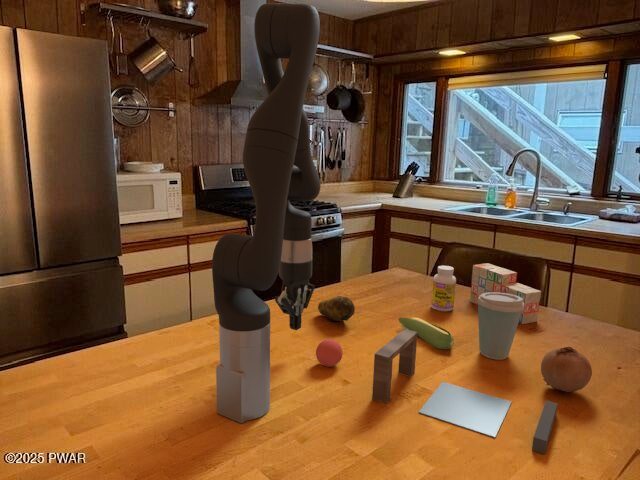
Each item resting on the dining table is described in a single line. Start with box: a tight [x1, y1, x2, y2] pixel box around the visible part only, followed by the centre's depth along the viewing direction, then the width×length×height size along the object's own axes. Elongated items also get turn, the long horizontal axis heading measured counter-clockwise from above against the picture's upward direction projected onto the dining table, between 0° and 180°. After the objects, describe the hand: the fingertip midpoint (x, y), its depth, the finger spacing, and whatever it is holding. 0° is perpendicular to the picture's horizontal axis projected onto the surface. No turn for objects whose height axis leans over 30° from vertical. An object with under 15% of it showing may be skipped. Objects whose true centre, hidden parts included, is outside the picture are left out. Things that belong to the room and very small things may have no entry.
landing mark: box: [418, 381, 513, 439], centre depth 95 cm, size 14×14×1 cm
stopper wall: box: [531, 400, 558, 455], centre depth 88 cm, size 14×2×2 cm, turn 148°
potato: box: [317, 295, 356, 322], centre depth 137 cm, size 8×13×8 cm, turn 15°
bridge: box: [371, 328, 418, 404], centre depth 102 cm, size 15×3×10 cm, turn 148°
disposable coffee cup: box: [477, 292, 524, 361], centre depth 118 cm, size 11×11×15 cm
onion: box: [540, 346, 593, 393], centre depth 102 cm, size 10×9×10 cm
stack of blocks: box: [469, 262, 542, 325], centre depth 148 cm, size 21×6×12 cm, turn 25°
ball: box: [315, 338, 343, 368], centre depth 111 cm, size 6×6×6 cm
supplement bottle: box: [430, 265, 457, 312], centre depth 149 cm, size 7×7×13 cm
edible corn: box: [398, 317, 455, 350], centre depth 128 cm, size 5×20×5 cm, turn 28°
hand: (295, 328), depth 115 cm, fingers closed
